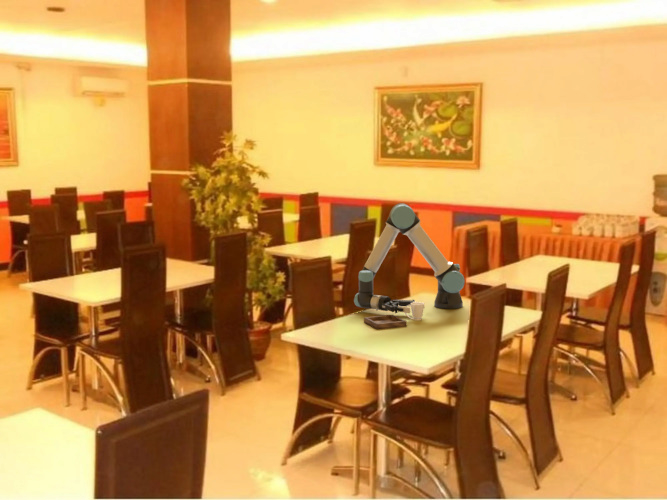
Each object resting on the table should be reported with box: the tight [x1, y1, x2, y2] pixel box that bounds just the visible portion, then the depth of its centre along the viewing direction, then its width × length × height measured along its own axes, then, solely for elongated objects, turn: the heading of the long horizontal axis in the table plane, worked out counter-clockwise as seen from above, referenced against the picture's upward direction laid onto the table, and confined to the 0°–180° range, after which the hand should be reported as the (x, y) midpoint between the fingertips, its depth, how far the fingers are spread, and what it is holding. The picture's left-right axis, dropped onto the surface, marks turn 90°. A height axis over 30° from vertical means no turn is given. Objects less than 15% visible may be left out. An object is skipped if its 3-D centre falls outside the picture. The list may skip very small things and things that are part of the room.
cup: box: [404, 301, 425, 321], centre depth 353 cm, size 7×10×8 cm
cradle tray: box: [363, 314, 407, 330], centre depth 343 cm, size 15×15×2 cm
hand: (417, 308), depth 352 cm, fingers open, 13 cm apart
